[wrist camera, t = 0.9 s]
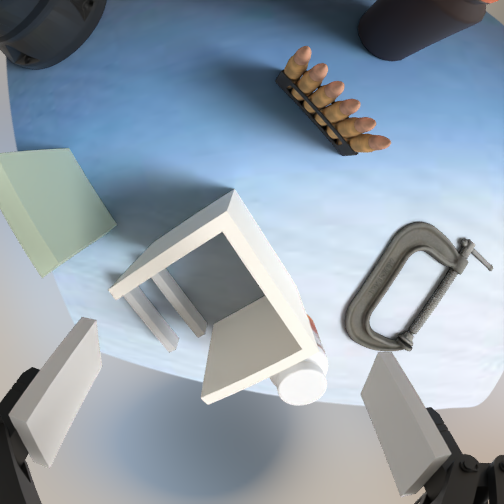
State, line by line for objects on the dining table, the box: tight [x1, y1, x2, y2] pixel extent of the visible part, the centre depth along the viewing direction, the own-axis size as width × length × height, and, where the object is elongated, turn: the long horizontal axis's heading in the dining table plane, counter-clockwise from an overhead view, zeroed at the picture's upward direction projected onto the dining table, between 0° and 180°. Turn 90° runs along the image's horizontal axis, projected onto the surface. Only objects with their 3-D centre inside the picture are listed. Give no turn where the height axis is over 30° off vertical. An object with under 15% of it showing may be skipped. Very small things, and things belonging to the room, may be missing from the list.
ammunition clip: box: [275, 46, 391, 156], centre depth 25 cm, size 11×2×12 cm, turn 43°
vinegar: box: [358, 0, 498, 61], centre depth 18 cm, size 7×7×20 cm
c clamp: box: [345, 222, 493, 351], centre depth 37 cm, size 20×17×3 cm
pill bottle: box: [270, 314, 328, 405], centre depth 33 cm, size 6×6×11 cm
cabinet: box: [108, 189, 319, 404], centre depth 30 cm, size 13×17×13 cm
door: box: [0, 148, 117, 278], centre depth 27 cm, size 11×4×13 cm, turn 32°
